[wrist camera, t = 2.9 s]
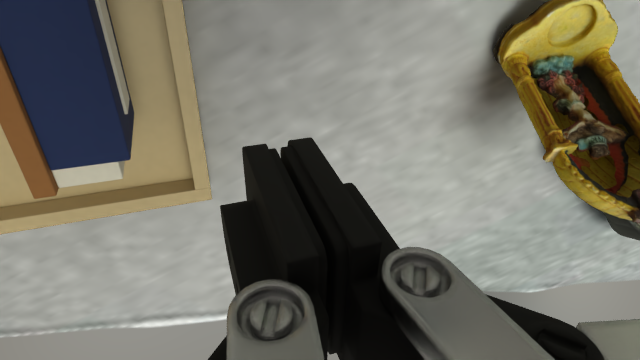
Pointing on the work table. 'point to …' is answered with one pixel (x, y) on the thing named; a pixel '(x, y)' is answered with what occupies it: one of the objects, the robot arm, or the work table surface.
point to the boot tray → (148, 131)
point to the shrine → (578, 100)
